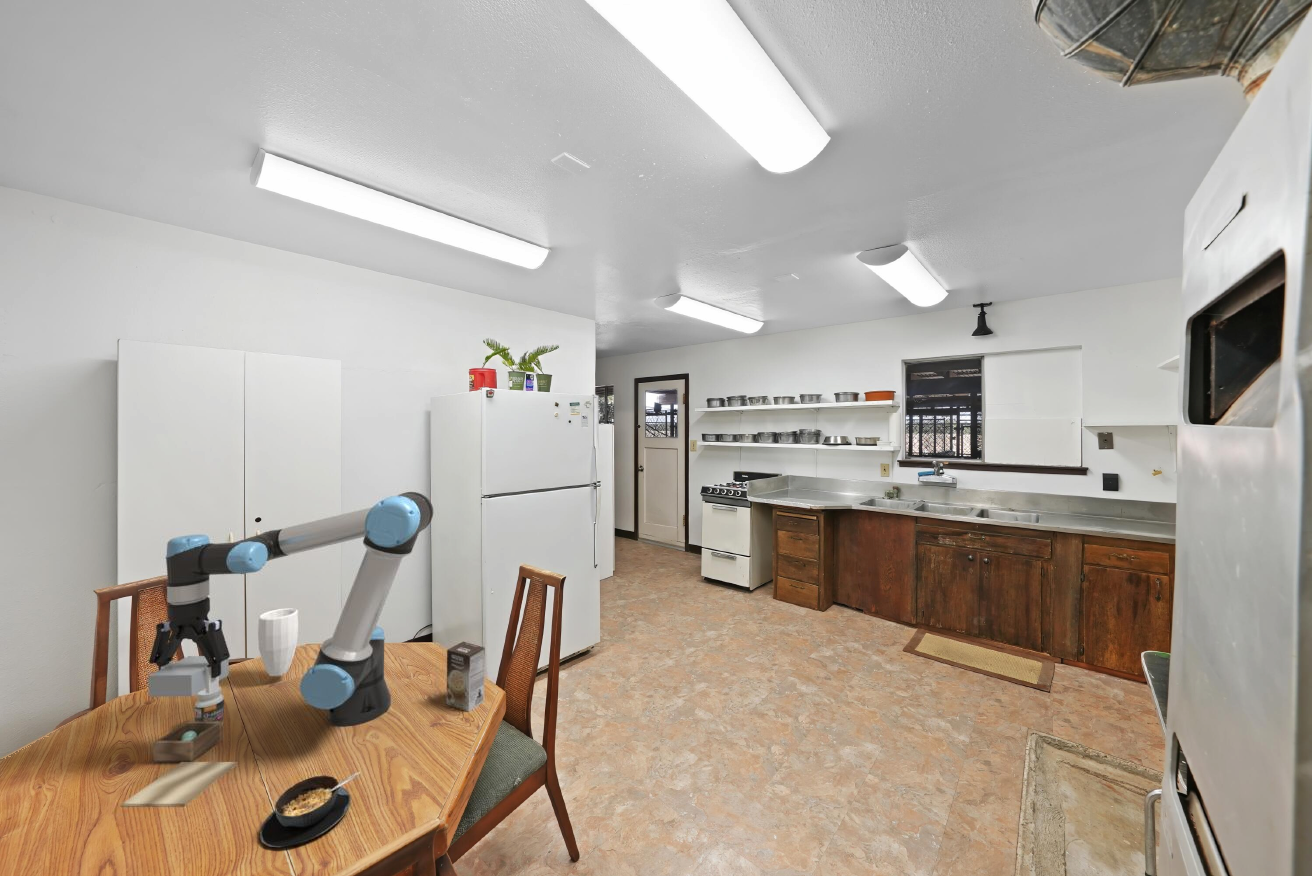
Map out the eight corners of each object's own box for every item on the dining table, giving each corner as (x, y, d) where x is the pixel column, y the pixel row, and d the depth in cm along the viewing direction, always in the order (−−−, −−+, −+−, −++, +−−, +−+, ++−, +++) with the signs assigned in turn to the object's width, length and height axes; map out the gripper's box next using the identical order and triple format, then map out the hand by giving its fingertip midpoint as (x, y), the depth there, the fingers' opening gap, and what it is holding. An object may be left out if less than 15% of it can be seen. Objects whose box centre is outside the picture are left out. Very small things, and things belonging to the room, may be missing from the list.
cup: (282, 690, 148) (282, 619, 148) (248, 690, 149) (248, 619, 148) (307, 674, 159) (307, 607, 159) (275, 673, 159) (275, 607, 159)
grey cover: (228, 675, 125) (228, 655, 125) (191, 696, 115) (191, 675, 115) (189, 675, 125) (188, 656, 125) (148, 696, 115) (148, 675, 115)
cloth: (237, 764, 115) (237, 761, 115) (184, 806, 102) (184, 803, 102) (181, 764, 115) (181, 761, 115) (122, 806, 102) (122, 803, 102)
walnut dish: (222, 741, 124) (222, 721, 124) (190, 763, 115) (190, 742, 115) (187, 741, 124) (187, 721, 124) (153, 763, 115) (153, 742, 115)
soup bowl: (299, 792, 107) (299, 758, 107) (371, 794, 106) (371, 760, 106) (239, 850, 92) (239, 811, 92) (322, 853, 91) (322, 813, 91)
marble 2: (191, 753, 119) (201, 740, 121) (185, 747, 117) (195, 734, 120) (179, 753, 119) (189, 740, 121) (172, 747, 117) (183, 734, 120)
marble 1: (200, 740, 123) (200, 728, 123) (188, 747, 120) (188, 735, 120) (188, 740, 123) (188, 728, 123) (176, 747, 120) (176, 735, 120)
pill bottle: (206, 735, 126) (206, 697, 126) (188, 732, 127) (188, 694, 127) (229, 722, 132) (229, 686, 132) (212, 720, 133) (212, 683, 133)
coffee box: (445, 704, 141) (445, 649, 141) (462, 694, 147) (462, 640, 147) (468, 712, 137) (469, 655, 137) (485, 701, 143) (485, 646, 143)
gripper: (248, 594, 123) (249, 682, 124) (157, 595, 123) (159, 683, 123) (222, 604, 116) (223, 698, 116) (125, 605, 116) (127, 699, 116)
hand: (190, 690), depth 120 cm, fingers closed on grey cover, 10 cm apart
